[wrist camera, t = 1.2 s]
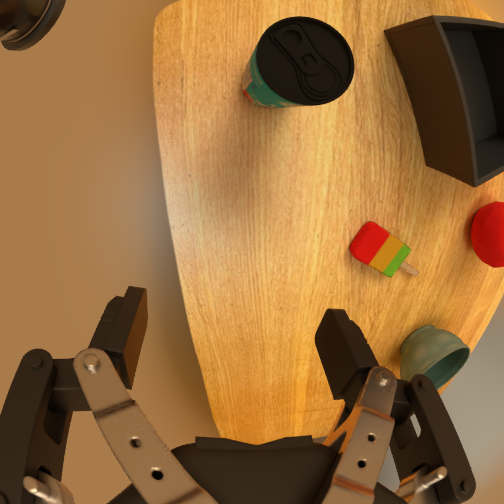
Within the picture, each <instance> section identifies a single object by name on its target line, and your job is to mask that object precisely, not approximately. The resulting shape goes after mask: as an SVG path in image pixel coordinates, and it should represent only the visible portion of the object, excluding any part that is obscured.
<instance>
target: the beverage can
mask: <svg viewBox="0 0 504 504" xmlns="http://www.w3.org/2000/svg"><path fill="white" fill-rule="evenodd" d="M353 75H354V58H353V54H352V51H351V49H350V47H349V45H348V43H347V42H346V40H345V39H344V37H343V36H342V35H341V34H340V33H339V32H338V31H337V30H336V29H334V28H333V27H331V26H330V25H328V24H327V23H325V22H323V21H320V20H318V19H314V18H310V17H301V16H298V17H289V18H285V19H282V20H280V21H278V22H276V23H274V24H273V25H271V26H270V27H269V28H268V29H267V30H266V31H265V32H264V33H263V35H262V36H261V38H260V40H259V42H258V44H257V46H256V48H255V50H254V52H253V54H252V56H251V58H250V60H249V62H248V64H247V66H246V69H245V71H244V73H243V76H242V88H243V91H244V93H245V95H246V96H247V98H248V99H249V100H250V101H251V102H252V103H254V104H256V105H258V106H260V107H263V108H281V107H297V106H314V105H322V104H326V103H329V102H331V101H333V100H335V99H337V98H338V97H340V96H341V95H342V94H343V93H344V92H345V91H346V90H347V89H348V87H349V85H350V83H351V81H352V79H353Z"/></svg>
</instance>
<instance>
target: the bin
mask: <svg viewBox="0 0 504 504" xmlns="http://www.w3.org/2000/svg"><path fill="white" fill-rule="evenodd" d="M384 33H385V35H386V37H387V39H388V41H389V44H390V46H391V48H392V51H393V53H394V55H395V58H396V60H397V63H398V66H399V68H400V71H401V74H402V76H403V79H404V82H405V85H406V88H407V91H408V94H409V97H410V101H411V104H412V107H413V111H414V114H415V118H416V122H417V126H418V130H419V134H420V138H421V142H422V147H423V152H424V157H425V162H426V166H428V167H431V168H433V169H436V170H438V171H440V172H443V173H445V174H447V175H449V176H451V177H454V178H456V179H458V180H460V181H462V182H464V183H466V184H468V185H470V186H472V187H474V188H475V187H477V186H479V185H481V184H482V183H484V182H486V181H488V180H489V179H491V178H493V177H495V176H497V175H498V174H500V173H502V172H503V171H504V23H499V22H494V21H488V20H482V19H474V18H466V17H454V16H435V15H432V16H428V17H425V18H421V19H418V20H414V21H411V22H408V23H405V24H401V25H398V26H395V27H393V28H390V29H387V30H384Z"/></svg>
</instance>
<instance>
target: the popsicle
mask: <svg viewBox="0 0 504 504" xmlns="http://www.w3.org/2000/svg"><path fill="white" fill-rule="evenodd" d="M350 252H351V254H352V255H353V257H354V258H356V259H357V260H359V261H361V262H363V263H365V264H366V265H368V266H370V267H372V268H374V269H375V270H377V271H379V272H381V273H382V274H384V275H386V276H388V277H392V276H393V275H394V273H395V272H396V271H397V269H398V268H399V267H402V268H403V269H405V270H406V271H408V272H409V273H411V274H413V275H414V276H417V275H418V274H419V272H418V271H417V270H416V269H415V268H413V267H412V266H410V265H409V264H407V263H406V262H404V260H405V259H406V257H407V256H408V254H409V253H410V252H411V249H410V248H409V247H408V246H407V245H405V244H404V243H403V242H401V241H400V240H399V239H397V238H396V237H394V236H393V235H392V234H390V233H389V232H387V231H386V230H384V229H383V228H382V227H380V226H379V225H377V224H376V223H374V222H368V223H366V224H365V225H364V226H363V227H362V229H361V230H360V232H359V233H358V234H357V236H356V237H355V239H354V240H353V242H352V243H351V245H350Z"/></svg>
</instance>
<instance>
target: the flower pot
mask: <svg viewBox="0 0 504 504" xmlns="http://www.w3.org/2000/svg"><path fill="white" fill-rule="evenodd" d="M401 354H402V358H401V365H400V374H401V380H406V381H410V380H411V378H412V377H413V376H414V375H416V374H423V375H425V376H427V377H428V378H430V379H431V381H432V382H433V384H434V386H435V388H436V390H438V389H439V388H440V387H442V386H443V385H445V384H446V383H447V382H448V381H450V380H451V379H452V378H453V377H454V376H455V375H456V374H457V373H458V372H459V371H460V369H461V368H462V367H463V366H464V364H465V363H466V361H467V360H468V358H469V355H470V348H469V347H468V346H467V345H466V344H464V343H463V341H462V340H461V339H460V338H459V337H457V336H456V335H455V334H453V333H451V332H449V331H446V330H443V329H438V328H435V327H434V326H432V325H427V326H424V327H422V328H420V329H418V330H416V331H415V332H414V333H412V334H411V335H410V336H409V337H408V338H407V339H406V341H405V342H404V344H403V345H402V348H401Z"/></svg>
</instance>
